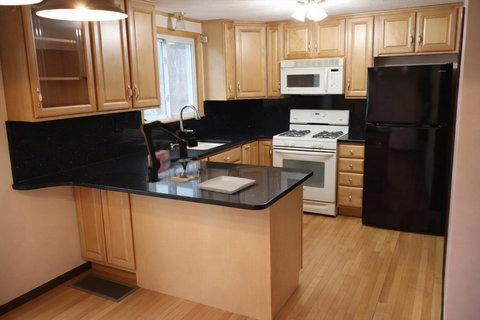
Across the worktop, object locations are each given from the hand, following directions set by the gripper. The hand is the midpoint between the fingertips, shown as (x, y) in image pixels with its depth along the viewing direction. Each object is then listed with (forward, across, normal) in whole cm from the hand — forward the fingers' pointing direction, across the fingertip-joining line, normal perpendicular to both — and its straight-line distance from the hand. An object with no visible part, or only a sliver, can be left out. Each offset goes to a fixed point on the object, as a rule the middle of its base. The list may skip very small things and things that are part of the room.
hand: (185, 170), depth 279 cm
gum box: (+4, +22, -28) cm, 35 cm away
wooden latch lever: (+2, +1, +4) cm, 5 cm away
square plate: (+6, -28, +34) cm, 44 cm away
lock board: (+4, +1, +8) cm, 10 cm away
